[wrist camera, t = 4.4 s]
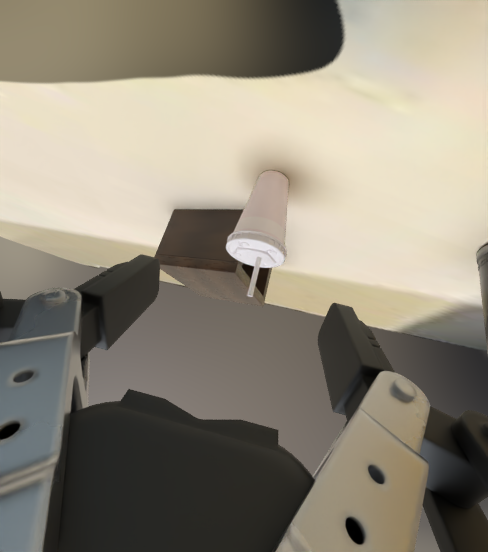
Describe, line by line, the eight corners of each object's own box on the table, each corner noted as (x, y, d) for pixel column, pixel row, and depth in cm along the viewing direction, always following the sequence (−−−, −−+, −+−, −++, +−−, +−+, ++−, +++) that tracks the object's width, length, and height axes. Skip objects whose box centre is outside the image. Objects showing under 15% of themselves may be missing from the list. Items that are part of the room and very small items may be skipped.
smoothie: (285, 207, 30) (263, 307, 26) (240, 189, 29) (208, 291, 25) (311, 175, 25) (288, 298, 20) (256, 150, 23) (218, 275, 19)
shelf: (252, 209, 33) (235, 273, 29) (273, 259, 47) (263, 306, 43) (174, 209, 38) (151, 263, 35) (214, 254, 52) (200, 296, 49)
